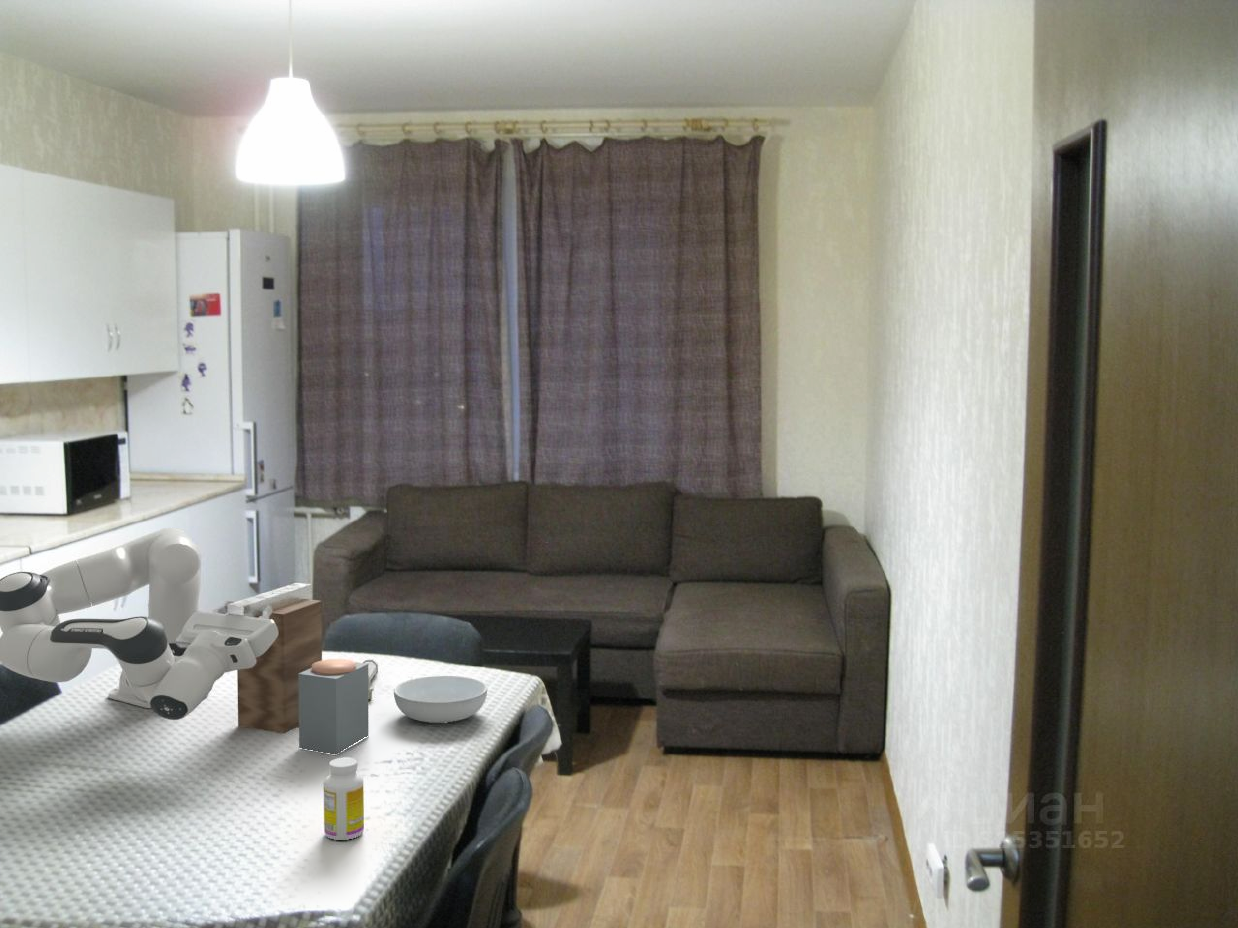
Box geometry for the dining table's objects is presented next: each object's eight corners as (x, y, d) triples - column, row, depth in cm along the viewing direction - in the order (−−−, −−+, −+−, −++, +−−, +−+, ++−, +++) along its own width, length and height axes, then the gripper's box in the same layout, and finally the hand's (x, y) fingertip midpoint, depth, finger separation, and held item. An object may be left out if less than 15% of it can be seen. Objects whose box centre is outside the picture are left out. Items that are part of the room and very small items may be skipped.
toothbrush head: (380, 658, 302) (372, 672, 277) (380, 684, 301) (372, 701, 277) (359, 658, 301) (349, 672, 276) (359, 684, 301) (349, 701, 276)
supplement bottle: (367, 826, 209) (366, 755, 207) (360, 842, 202) (359, 769, 201) (328, 826, 208) (328, 754, 207) (320, 842, 202) (319, 768, 200)
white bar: (227, 618, 248) (227, 604, 247) (296, 595, 270) (296, 582, 270) (243, 620, 246) (243, 606, 246) (311, 597, 269) (311, 584, 268)
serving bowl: (495, 705, 278) (495, 676, 277) (476, 735, 257) (476, 704, 256) (408, 700, 280) (408, 672, 279) (381, 730, 259) (381, 699, 258)
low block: (299, 749, 246) (298, 669, 244) (332, 731, 257) (331, 655, 255) (336, 755, 243) (336, 674, 241) (368, 737, 254) (368, 660, 252)
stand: (238, 725, 259) (236, 608, 256) (277, 707, 272) (276, 595, 270) (284, 733, 255) (283, 614, 252) (322, 714, 268) (321, 600, 265)
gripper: (176, 657, 246) (214, 611, 257) (260, 668, 239) (295, 621, 250) (165, 634, 243) (204, 589, 253) (249, 645, 236) (285, 598, 246)
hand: (250, 605), depth 251 cm, fingers open, 8 cm apart
